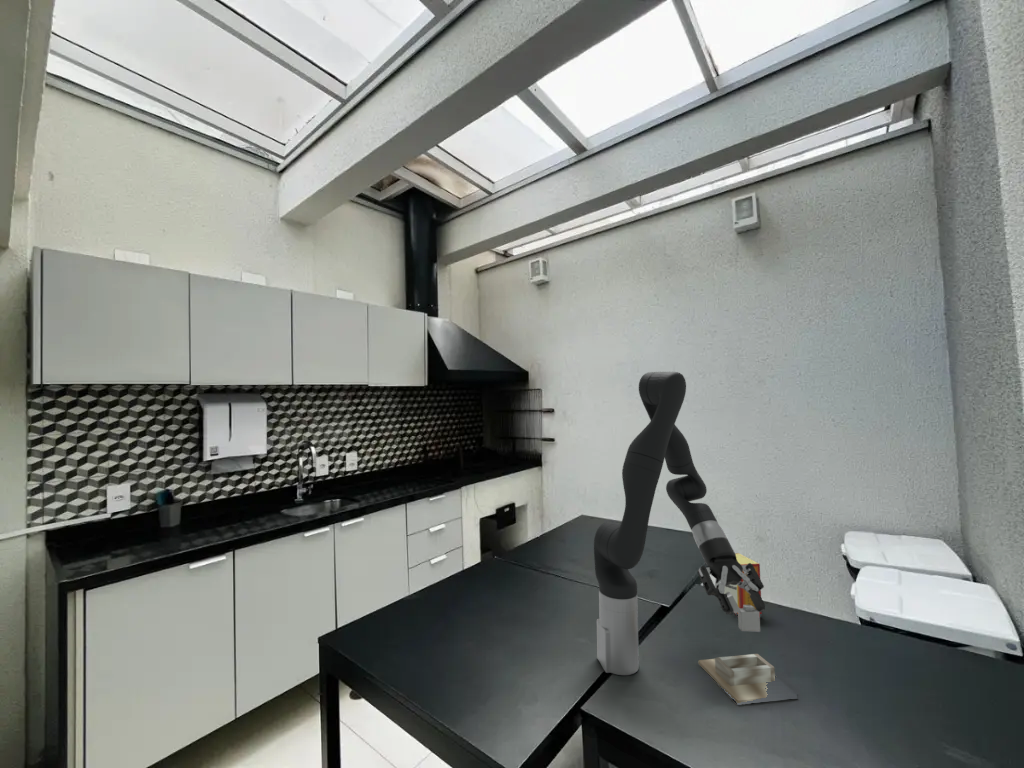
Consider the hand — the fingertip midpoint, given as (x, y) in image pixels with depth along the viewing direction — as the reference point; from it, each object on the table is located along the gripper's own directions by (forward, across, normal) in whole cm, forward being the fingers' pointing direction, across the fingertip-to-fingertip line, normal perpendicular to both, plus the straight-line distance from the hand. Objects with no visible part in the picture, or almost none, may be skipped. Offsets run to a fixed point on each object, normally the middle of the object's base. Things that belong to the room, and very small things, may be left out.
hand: (746, 611), depth 93 cm
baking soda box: (-11, +22, +34) cm, 42 cm away
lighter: (+2, 0, +4) cm, 5 cm away
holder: (+10, 0, +12) cm, 16 cm away
